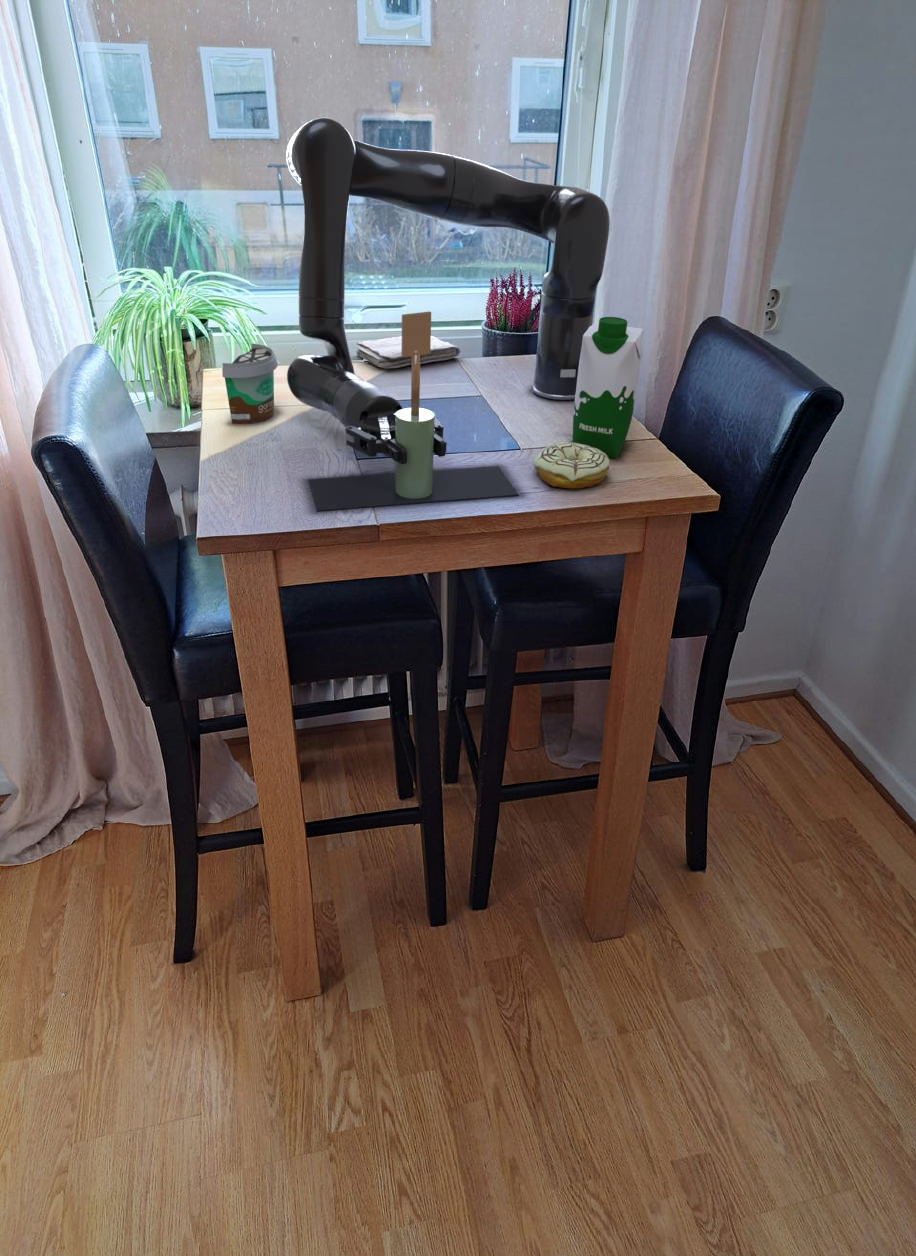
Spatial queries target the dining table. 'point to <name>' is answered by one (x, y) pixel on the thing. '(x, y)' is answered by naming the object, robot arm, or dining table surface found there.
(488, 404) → the dining table surface
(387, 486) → the mat
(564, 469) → the decorated donut
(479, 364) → the dining table surface
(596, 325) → the milk carton
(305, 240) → the robot arm
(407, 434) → the spatula crock
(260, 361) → the food container
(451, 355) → the washcloth
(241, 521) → the dining table surface
